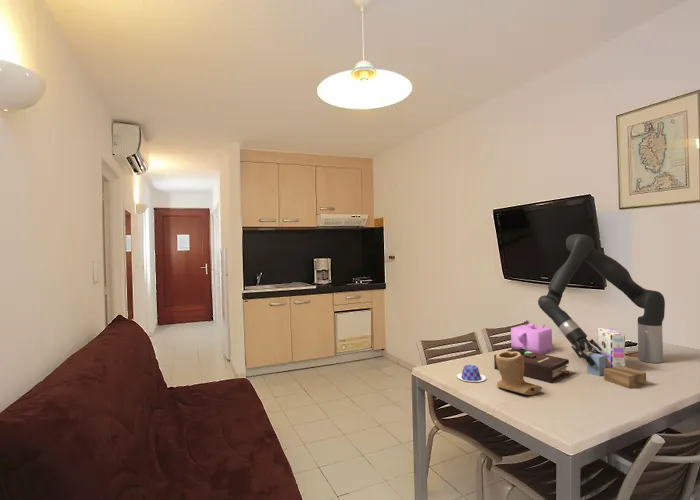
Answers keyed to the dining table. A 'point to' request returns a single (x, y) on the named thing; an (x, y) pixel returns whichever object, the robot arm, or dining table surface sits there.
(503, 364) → the tan hollow piece
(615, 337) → the candy box
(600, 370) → the slate-blue block
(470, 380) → the pudding
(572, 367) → the dining table surface
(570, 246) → the robot arm
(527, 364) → the decorative book
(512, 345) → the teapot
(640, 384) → the walnut block
